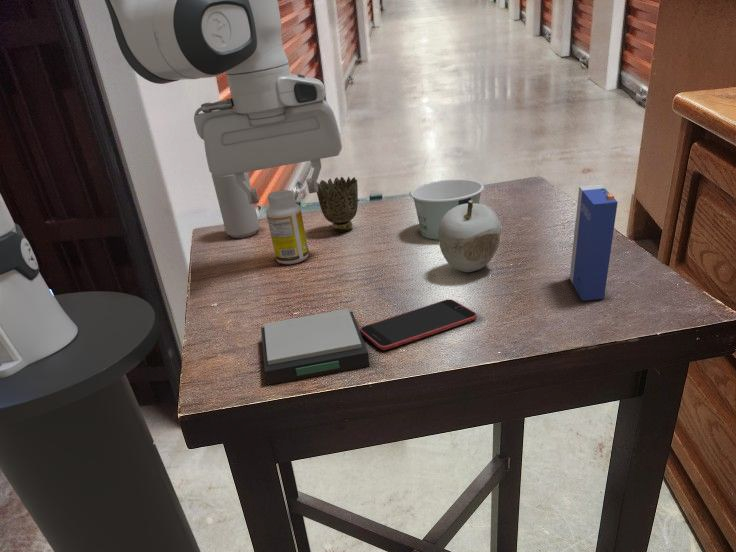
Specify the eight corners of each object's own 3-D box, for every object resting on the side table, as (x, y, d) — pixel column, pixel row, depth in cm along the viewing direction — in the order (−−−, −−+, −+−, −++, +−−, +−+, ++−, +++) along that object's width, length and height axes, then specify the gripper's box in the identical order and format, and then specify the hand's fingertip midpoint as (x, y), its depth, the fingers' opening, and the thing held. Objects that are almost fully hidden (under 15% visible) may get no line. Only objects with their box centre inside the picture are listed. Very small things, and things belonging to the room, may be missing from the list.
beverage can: (232, 229, 119) (215, 160, 111) (264, 226, 118) (249, 157, 110) (223, 240, 114) (204, 169, 106) (256, 237, 113) (239, 166, 105)
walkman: (604, 299, 78) (618, 198, 70) (582, 301, 78) (593, 200, 70) (590, 275, 84) (601, 180, 76) (569, 277, 84) (578, 182, 76)
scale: (268, 385, 70) (263, 367, 69) (264, 340, 80) (259, 323, 78) (369, 366, 71) (367, 348, 70) (354, 324, 80) (351, 306, 79)
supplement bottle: (299, 250, 105) (287, 186, 98) (315, 258, 101) (304, 191, 94) (270, 260, 103) (256, 195, 96) (286, 268, 99) (272, 200, 92)
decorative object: (471, 255, 94) (471, 185, 88) (512, 268, 89) (515, 194, 82) (427, 272, 91) (423, 200, 85) (466, 287, 85) (465, 212, 79)
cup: (361, 234, 108) (355, 185, 102) (320, 238, 109) (312, 190, 103) (364, 221, 113) (358, 174, 108) (325, 225, 114) (318, 178, 109)
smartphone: (480, 314, 77) (382, 348, 73) (480, 319, 77) (382, 352, 73) (450, 297, 82) (356, 327, 78) (450, 301, 82) (357, 332, 78)
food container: (401, 229, 107) (398, 189, 103) (461, 214, 110) (461, 174, 106) (432, 248, 99) (430, 204, 94) (497, 231, 101) (497, 188, 97)
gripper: (188, 108, 84) (217, 214, 93) (334, 83, 85) (349, 190, 94) (191, 102, 88) (218, 204, 98) (329, 78, 89) (344, 181, 99)
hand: (283, 197), depth 96 cm, fingers open, 8 cm apart
